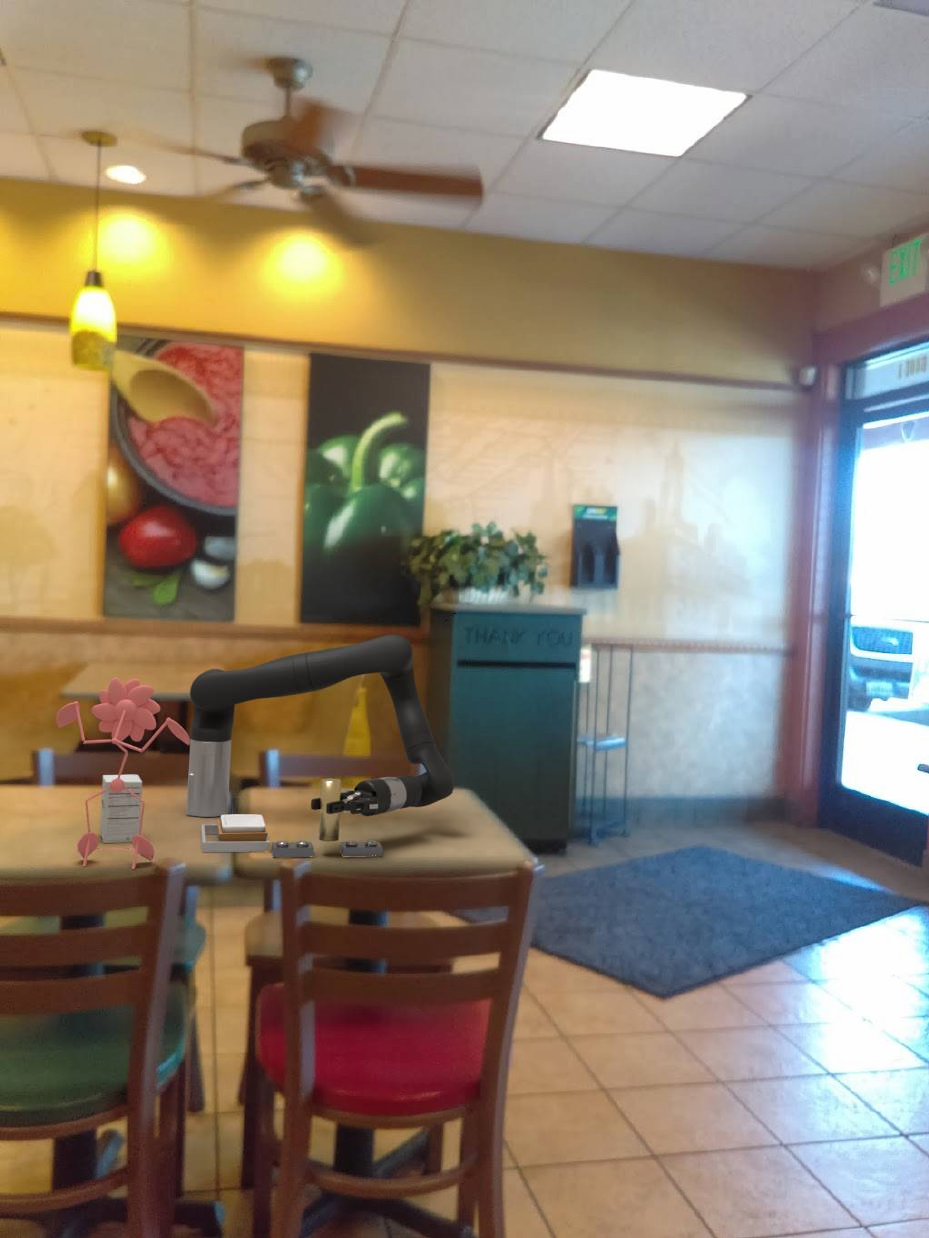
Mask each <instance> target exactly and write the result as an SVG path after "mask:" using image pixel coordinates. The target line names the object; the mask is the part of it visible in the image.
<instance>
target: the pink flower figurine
mask: <svg viewBox="0 0 929 1238" xmlns="http://www.w3.org/2000/svg"><path fill="white" fill-rule="evenodd" d="M140 684H141V682H140V680H139V679H138V678H132V679H130V680H128V681H127V682H126V683H125V684H124V683H123V682H122V680H121V679H119V677H113V678H112V679H111V681H110V683H109V685H108V690H107V689H103V688H102V689H101V690H99V693H98V696H99V702H100V703H99V704H95V705H94V706H92V708H91V709H90V711H91V713H92V714H93V715H94V717H96V718H97V719H100V720H101V721H100V722H99V723H98V724H99V725H98V730H99V731H101V732H102V733H111V739H95V740H94V739H93V740H86V738H85V734H84V733H85V732H84V727H83V724H82V723H83V722H82V719H81V714H80V713H81V706H80V705H79V702H78V701H74V702H69V703H67V704H65V705H64V706H62V707H61V708H60V709H59V710H58V711H57V713H56V716H55V721H56V725H57V727H58V728H59V729H60V728H62V727H65V726H67V725H69V724H72V723H73V722H74V721H75V720H77V724H78V728H79V733H80V737H81V738H80V739H81V741H82V744H83V745H86V744H101V743H102V744H103V743H112V744H113V745H116V746H117V747H118V748H120V749H121V751H123V752H124V756H123V759H122V762H121V765H120V768H119V772H118V774H117V775H118V778H116V779H114V780H112V782H111V783H110V787H109V788H107V789H105V790H103V791H102V790H101V791H100V792H97V793H96V794H93V795H92V796H90V797H88V798H87V799H85V800H84V801H85V804H84V805H85V812H86V823H87V833H85V834H83V835H82V836H81V837H80V839H79V840H78V842H77V851H75V853H79V854H80V856H81V857H82V858H83V862H82V868H83V867H84V868H86V867H87V863H88V862H87V861H88V857H89V856H90V855H92V853H93V852H94V851H96V850H97V851H100V850H102V848H101V847H99V848H98V846H99V841H100V840H99V837H98V834H97V833H95V832H94V831H92V832H91V827H90V817H89V815H90V814H89V805H88V802H89V801H90V800H92V799H94V798H95V797H97V796H99V795H102V793H104V792H105V791H107V790H109V789H111V790H112V791H113V792H115V793H119V792H122V791H123V789H125V790H126V791H128V792H129V793H131V794H132V795H133V796H135V797H136V798H137V799H139V800H140V801H142V802H141V803H142V804H141V821H140V829H139V835H138V834H137V836H136V835H134V836H133V837H132V842H131V844H132V846H133V847H132V848H129V847H125V850H134V853H133V859H132V863H131V864H132V865H131V869H132V870H135V868H136V863H137V858H138V854H139V856H141V857H143V858H144V859H146V860H148V861H150V862H152V861H153V859H154V856H155V849H154V845H153V844H152V843H151V842H150V841H149V840H148V839H147V838H146V837H145V836H144V835H142V827H143V819H144V812H145V806H146V805H145V800H143V798H142V799H141V798H139V797H138V796H137V795H135V794H134V793H132V792H131V791H130V790H128V789H127V788H126V787H125V783H124V781H123V780H121V779H120V776H121V775H122V773H123V770H124V767H125V764H126V762H127V759H128V755H129V751H128V750H127V749H126V748H129V749H131V750H134V751H137V752H139V753H141V754H143V752H144V751H146V749H147V748H148V747H149V746H150V745H151V744H152V742H153V741H154V740H155V739H156V738H157V737H158V735H159V734H160V733H161V732H162V731H163V729H165V727H166V726H167V727H168V729H169V730H170V732H171V733H172V734H173V735H174V736H175V737H176V738H177V739H179V740H180V741H182V742H183V743H184V744H186V745H187V746H190V739H191V738H190V736H189V734H188V733H187V731H186V730H185V729H184V728H183V727H182V726H181V724H179V723H178V722H177V721H176V720H174V719H171V718H170V717H167V718H166V720H165V722H164V723H163V724H162V725H161V726H159V729H158V730H157V731H156V732H155V733H154V734H153V736H152V737H150V739H149V740H148V742H146V743H145V745H144V746H142V748H140V747H137V746H133V745H131V744H129V743H126V742H123V741H124V740H125V739H126V738H128V737H129V736H130V738H131V740H132V741H133V742H136V743H137V742H141V740H143V737H144V735H145V730H147V731H153V730H155V729H157V722H156V718H155V716H154V715H155V714H157V713H159V712H160V711H161V706H160V704H159V703H158V702H156V701H155V700H153V699H151V697H152V696H153V694H154V692H155V691H154V688H153V687H152V686H150V685H147V684H146V685H144V684H143V685H140ZM125 747H126V748H125ZM107 850H123V847H120V848H119V847H118V848H112V847H111V848H107Z"/></svg>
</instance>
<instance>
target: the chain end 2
mask: <svg viewBox="0 0 929 1238" xmlns="http://www.w3.org/2000/svg"><path fill="white" fill-rule="evenodd" d="M340 851H341V853H342V855H343V856H372V855H373V856H375V855H376V856H382V857H383V846H382V844H381V843H380V841H377V840H374V839H368V840H365V841H358V840H355V839H354V840H352V839H351V840H350V839H349V840H346V841H340V844H339V852H340ZM341 853H340V854H341ZM342 855H341V856H342ZM343 856H342V857H343Z"/></svg>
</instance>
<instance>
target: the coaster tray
mask: <svg viewBox="0 0 929 1238" xmlns="http://www.w3.org/2000/svg"><path fill="white" fill-rule="evenodd" d="M206 835H219V829H218V823H217V824H216V823H215V824H214V823H213V824H212V823H211V824H209V823H208V824H204V823H203V824H201V831H200V837H201V839H200V840H201V853H250V852H249V851H252V852H251V853H254V852H253V851H258V852H257V853H260V852H259V851H262V852H261V853H265V852H264V851H269V852H270V840H269V839H270V838H269V834H268V835H267V838H266V840H265V841H244V842H221V841H206Z"/></svg>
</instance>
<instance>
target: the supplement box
mask: <svg viewBox="0 0 929 1238" xmlns="http://www.w3.org/2000/svg"><path fill="white" fill-rule="evenodd" d="M118 775H119V774H104V775H102V786H101V787H102V788H101V791H103V790H105V789H107V788H109V787H110V783H111V782H112V780H114V779H116V778H118ZM120 779H121V780H123V781H124V783H125V787H126V788H127V789H128V790H130V791H131V792H132V793H134V794H135V795H137V796H138V797H139V798H141V799H142V800H143V798H142V797H143V781H142V779H141V777H140V776H139V775H138V774H121V776H120ZM142 803H143V802H142V801H140V800H139V799H137V798H136V797H135V796H133V795H132V794H131V793H129V792H128V791H126V790H125V789H123V791H122V792H119V793H115V792H113V791H112V790H111V789H109V790H107V791H105V792H104V793H102V794H101V803H100V805H101V806H100V822H99V823H100V827H99V835H100V836H101V838H102V842H103V843H104V844H114V843H115V844H117V843H132V837H133V836H134V835H136V836H137V834H138V835H139V829H140V821H141V813H142Z"/></svg>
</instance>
